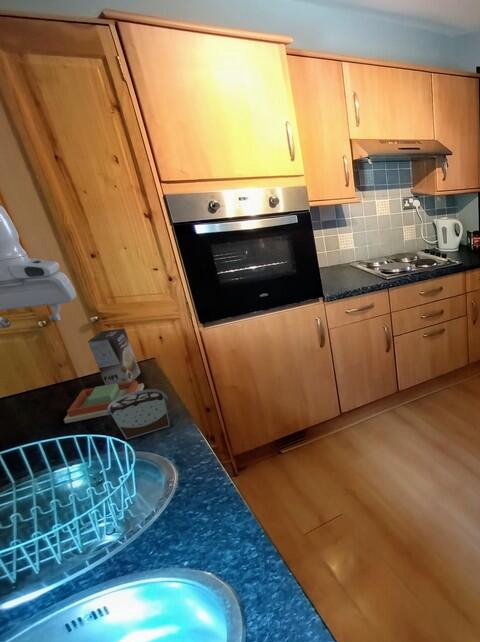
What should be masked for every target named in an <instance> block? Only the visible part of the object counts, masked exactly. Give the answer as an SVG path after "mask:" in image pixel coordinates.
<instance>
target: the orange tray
mask: <svg viewBox="0 0 480 642" xmlns="http://www.w3.org/2000/svg"><path fill="white" fill-rule="evenodd" d="M117 385H118V387H119V390H120V393H119V395H118V397H117V398H119V397H121V396H124V395H126V394H129V393H132V392H136V391H141V390H144V388H145V385H144V383H138V380H136V379H135V380H134V381H130V382H124V383H118V384H117ZM94 389H95V387H91V388H85V389H82V390H80V392H79V394H78V395H77V397H76V398H75V399H74V400H73V402H72V403H71V405H70V406H69V408H68V409H67V410H66V413H67V414H66V416H65V417H64V418H63V423H64V424H70V423H75V422H80V421H85V420H88V419H89V420H90V419H94V418H99V417H105V416H108V413H107V409H108V406H109V404H110V403H111V402H107V403H101V404H96V405H91V406H90V405H89V402H88V400H87V399H88V398H89V396H90V395H91V393H92V392H93V390H94ZM112 402H113V401H112ZM109 416H111V414H110V413H109Z"/></svg>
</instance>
